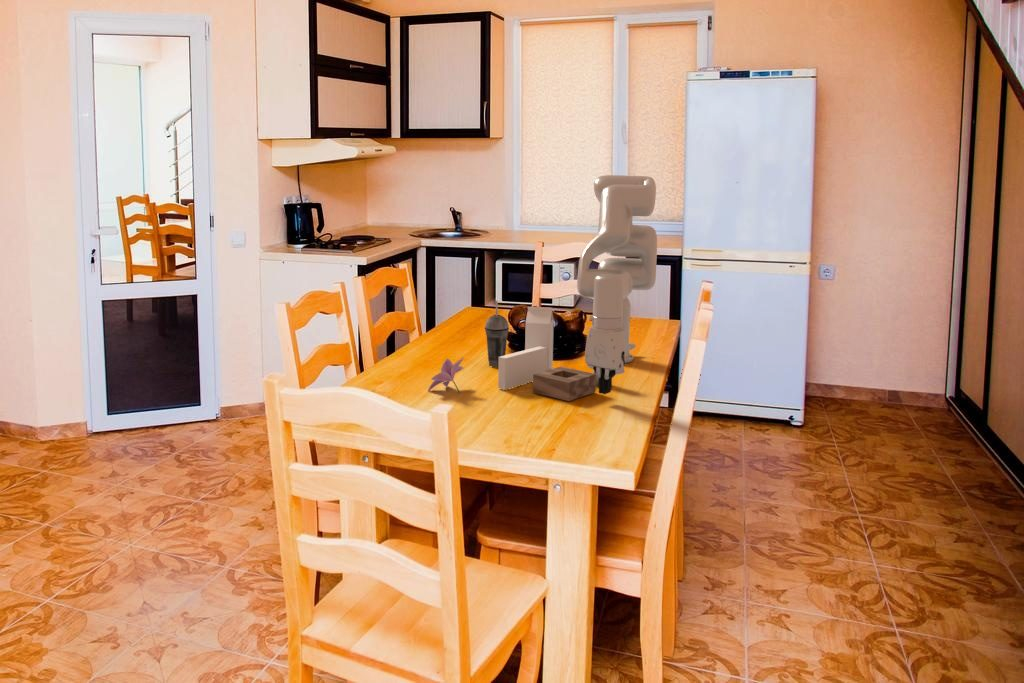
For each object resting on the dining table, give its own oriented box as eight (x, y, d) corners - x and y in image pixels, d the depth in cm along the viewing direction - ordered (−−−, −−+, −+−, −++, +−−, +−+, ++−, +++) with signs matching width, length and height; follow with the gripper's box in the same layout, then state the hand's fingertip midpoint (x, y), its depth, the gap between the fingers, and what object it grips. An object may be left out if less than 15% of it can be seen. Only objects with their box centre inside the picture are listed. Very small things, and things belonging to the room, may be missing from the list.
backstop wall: (539, 376, 256) (540, 346, 254) (546, 378, 255) (546, 347, 253) (498, 389, 243) (498, 356, 241) (504, 390, 241) (505, 358, 239)
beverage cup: (509, 363, 271) (510, 298, 267) (507, 369, 264) (508, 302, 260) (486, 362, 272) (486, 297, 267) (482, 368, 265) (483, 301, 260)
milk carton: (548, 374, 259) (550, 310, 254) (524, 373, 260) (525, 308, 256) (552, 368, 265) (554, 305, 261) (528, 367, 267) (530, 304, 263)
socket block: (560, 383, 248) (560, 366, 247) (595, 391, 240) (596, 373, 239) (532, 392, 239) (533, 374, 238) (568, 401, 231) (569, 382, 230)
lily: (470, 388, 247) (456, 357, 247) (482, 382, 236) (467, 349, 236) (432, 406, 243) (417, 374, 243) (442, 401, 232) (427, 367, 232)
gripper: (574, 321, 229) (572, 390, 233) (623, 329, 219) (620, 401, 223) (591, 317, 234) (589, 384, 238) (640, 325, 225) (637, 395, 229)
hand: (604, 392), depth 231 cm, fingers closed
